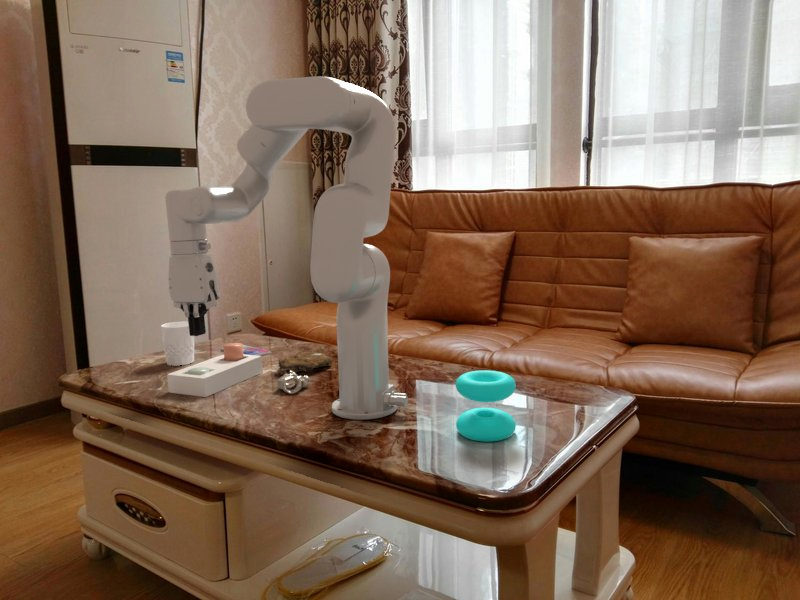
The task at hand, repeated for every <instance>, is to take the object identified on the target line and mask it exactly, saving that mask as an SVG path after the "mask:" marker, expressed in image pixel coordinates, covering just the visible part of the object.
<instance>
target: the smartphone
mask: <svg viewBox="0 0 800 600" xmlns="http://www.w3.org/2000/svg"><path fill="white" fill-rule="evenodd" d="M220 351H221V352H224V350H223V347H221V348H220ZM243 354H246V355H257V356H262V357H264V356H268V355H272V350H271V351H270V350H266V349H263V348H258V347H255V346H250V345H246V344H243Z"/></svg>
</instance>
